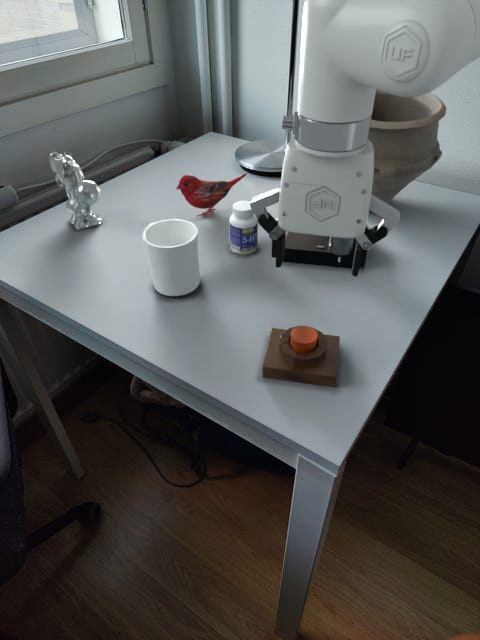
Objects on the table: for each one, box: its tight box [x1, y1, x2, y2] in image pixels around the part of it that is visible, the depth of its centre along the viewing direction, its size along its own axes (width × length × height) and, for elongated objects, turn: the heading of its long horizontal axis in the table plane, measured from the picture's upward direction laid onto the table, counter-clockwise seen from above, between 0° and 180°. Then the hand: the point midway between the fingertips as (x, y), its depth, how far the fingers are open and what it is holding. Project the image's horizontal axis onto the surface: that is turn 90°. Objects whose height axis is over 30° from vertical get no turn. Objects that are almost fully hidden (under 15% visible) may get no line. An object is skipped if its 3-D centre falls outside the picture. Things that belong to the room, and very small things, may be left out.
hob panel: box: [282, 231, 361, 271], centre depth 86 cm, size 14×14×3 cm
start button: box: [290, 325, 318, 353], centre depth 63 cm, size 4×4×2 cm
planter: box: [368, 89, 447, 213], centre depth 94 cm, size 25×24×22 cm
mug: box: [141, 218, 201, 299], centre depth 78 cm, size 11×9×10 cm
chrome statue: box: [48, 151, 103, 230], centre depth 92 cm, size 15×6×15 cm, turn 39°
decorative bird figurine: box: [175, 173, 248, 217], centre depth 97 cm, size 3×18×10 cm, turn 127°
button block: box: [262, 325, 341, 388], centre depth 65 cm, size 10×8×4 cm
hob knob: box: [328, 237, 354, 255], centre depth 81 cm, size 4×4×5 cm
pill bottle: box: [229, 200, 259, 255], centre depth 86 cm, size 5×5×9 cm
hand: (317, 266), depth 59 cm, fingers open, 9 cm apart
